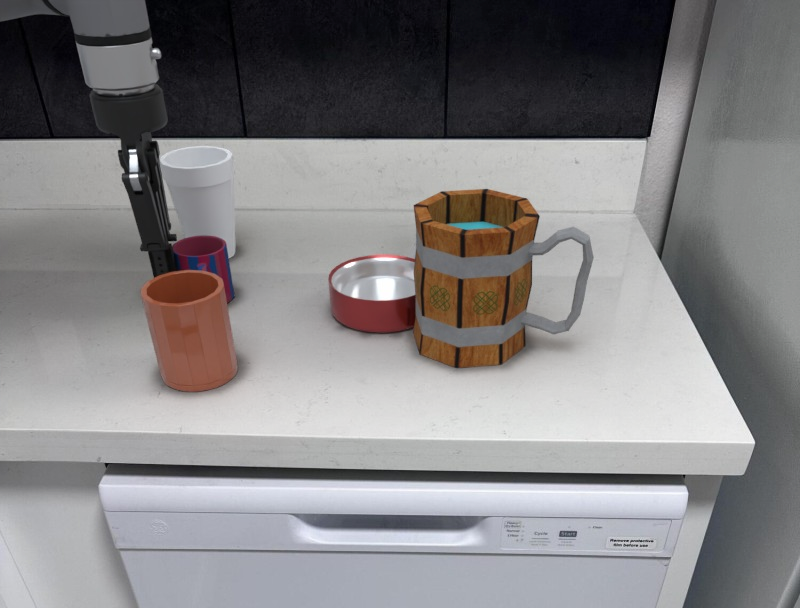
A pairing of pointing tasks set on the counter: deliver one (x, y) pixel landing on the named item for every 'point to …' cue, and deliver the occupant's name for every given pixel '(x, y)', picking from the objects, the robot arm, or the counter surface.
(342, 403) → the counter surface
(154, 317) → the tumbler
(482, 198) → the mug
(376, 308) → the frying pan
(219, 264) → the cup
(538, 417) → the counter surface
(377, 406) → the counter surface
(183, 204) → the foam cup
